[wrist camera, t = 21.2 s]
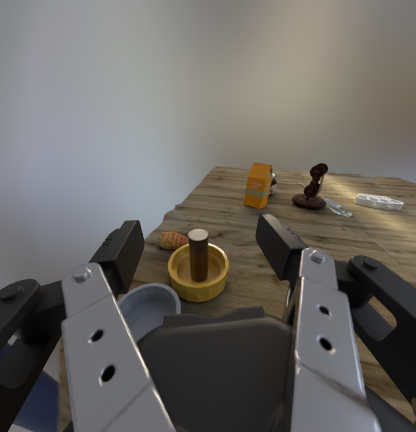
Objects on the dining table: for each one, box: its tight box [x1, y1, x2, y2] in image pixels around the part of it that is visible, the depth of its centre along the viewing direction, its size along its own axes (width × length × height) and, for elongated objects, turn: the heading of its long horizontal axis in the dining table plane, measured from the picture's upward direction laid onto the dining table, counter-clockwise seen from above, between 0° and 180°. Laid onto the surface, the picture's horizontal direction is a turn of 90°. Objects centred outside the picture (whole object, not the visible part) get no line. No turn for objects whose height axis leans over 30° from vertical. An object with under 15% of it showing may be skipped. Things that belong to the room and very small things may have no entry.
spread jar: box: [269, 174, 277, 196], centre depth 92 cm, size 12×11×12 cm
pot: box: [117, 283, 182, 343], centre depth 29 cm, size 13×13×5 cm
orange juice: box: [244, 163, 273, 209], centre depth 76 cm, size 8×9×20 cm
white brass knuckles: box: [354, 193, 404, 210], centre depth 81 cm, size 3×18×15 cm
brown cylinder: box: [188, 229, 208, 282], centre depth 38 cm, size 4×4×13 cm
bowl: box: [168, 243, 229, 302], centre depth 40 cm, size 15×15×6 cm
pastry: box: [158, 231, 189, 250], centre depth 52 cm, size 9×7×4 cm
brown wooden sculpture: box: [292, 163, 328, 210], centre depth 76 cm, size 15×15×20 cm
